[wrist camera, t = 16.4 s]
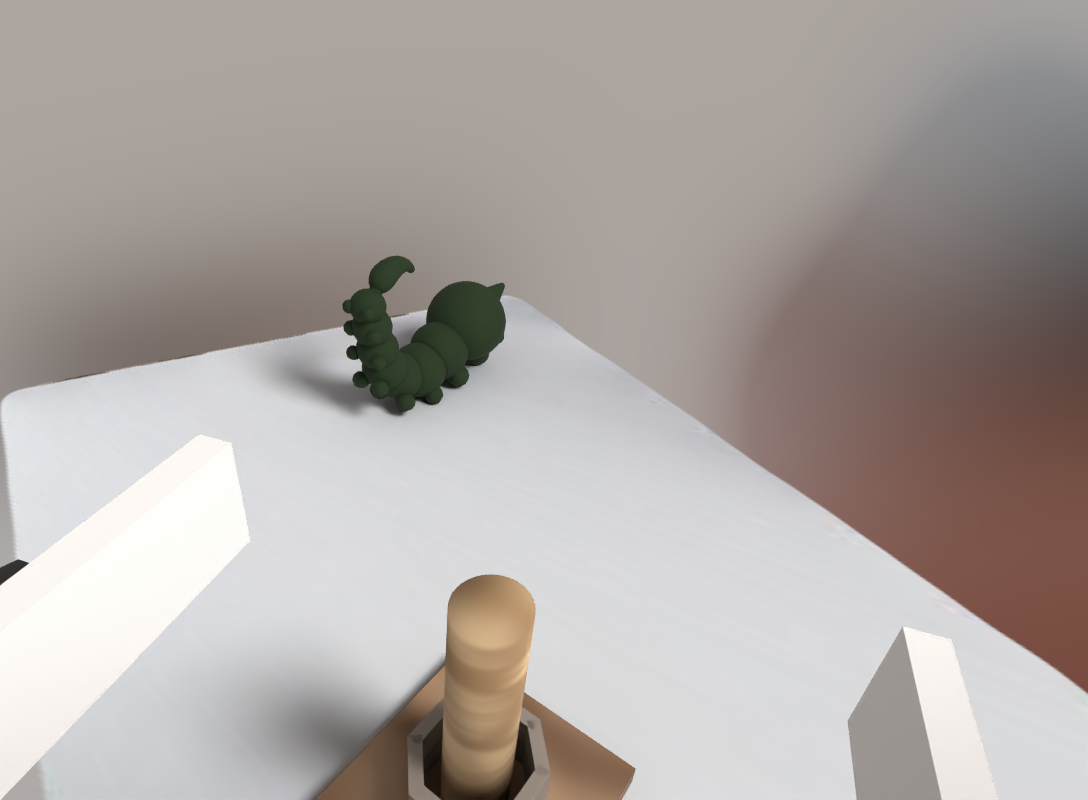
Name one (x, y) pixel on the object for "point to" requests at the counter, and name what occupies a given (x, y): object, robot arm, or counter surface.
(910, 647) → the robot arm
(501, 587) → the oak cylinder
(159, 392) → the counter surface
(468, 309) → the toy figurine
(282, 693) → the counter surface
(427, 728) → the cup bracket
